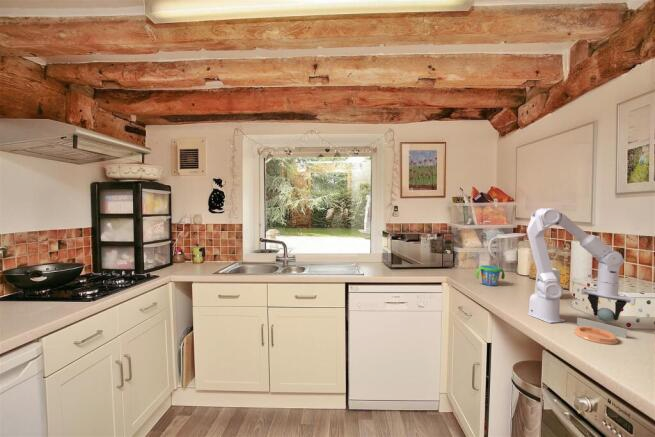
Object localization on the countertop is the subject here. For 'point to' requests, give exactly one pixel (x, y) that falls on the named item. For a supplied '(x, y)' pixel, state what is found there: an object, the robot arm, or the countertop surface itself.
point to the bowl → (596, 335)
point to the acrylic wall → (603, 327)
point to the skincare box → (557, 275)
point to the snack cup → (490, 274)
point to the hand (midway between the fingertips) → (605, 317)
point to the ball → (605, 314)
